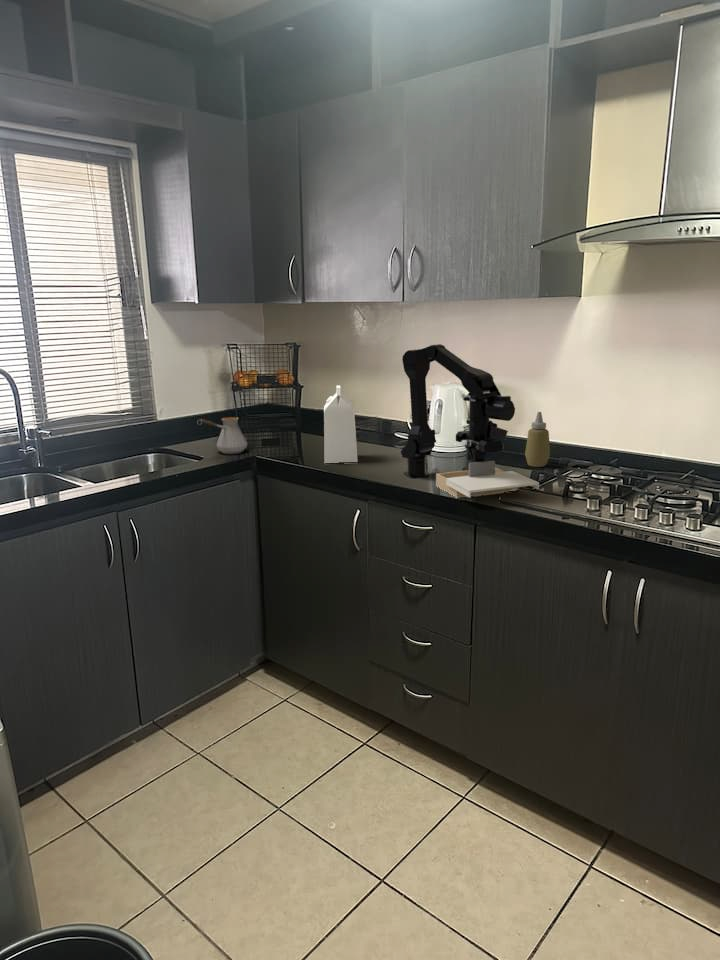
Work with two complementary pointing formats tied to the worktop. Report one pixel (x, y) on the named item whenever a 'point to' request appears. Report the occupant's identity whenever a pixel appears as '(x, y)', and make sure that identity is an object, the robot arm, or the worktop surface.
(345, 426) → the milk
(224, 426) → the coffee pot
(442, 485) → the mailer box
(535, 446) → the squeeze bottle
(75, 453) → the worktop surface
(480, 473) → the lid
